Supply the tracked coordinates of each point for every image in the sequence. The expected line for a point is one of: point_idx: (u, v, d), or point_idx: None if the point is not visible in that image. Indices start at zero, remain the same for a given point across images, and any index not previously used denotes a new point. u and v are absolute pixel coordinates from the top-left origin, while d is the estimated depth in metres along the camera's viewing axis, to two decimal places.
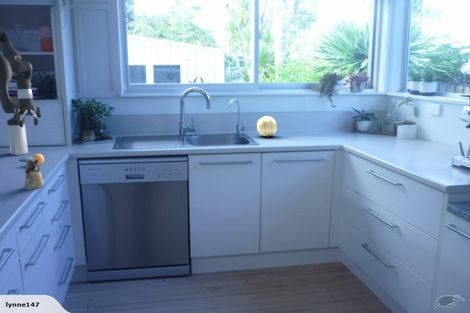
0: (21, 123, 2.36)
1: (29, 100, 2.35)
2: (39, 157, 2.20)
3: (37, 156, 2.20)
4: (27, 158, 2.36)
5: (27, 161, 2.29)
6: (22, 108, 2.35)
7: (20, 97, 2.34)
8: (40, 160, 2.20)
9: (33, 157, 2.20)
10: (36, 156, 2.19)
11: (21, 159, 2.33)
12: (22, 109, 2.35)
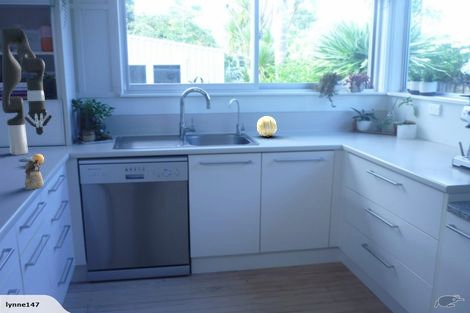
0: None
1: None
2: (39, 157, 2.20)
3: (37, 156, 2.20)
4: (27, 158, 2.36)
5: (27, 161, 2.29)
6: None
7: None
8: (40, 160, 2.20)
9: (33, 157, 2.20)
10: (36, 156, 2.19)
11: (21, 159, 2.33)
12: None
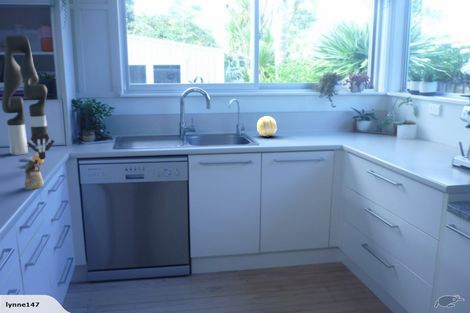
0: None
1: None
2: None
3: (37, 156, 2.20)
4: (27, 158, 2.36)
5: (27, 161, 2.29)
6: None
7: None
8: (40, 160, 2.20)
9: (33, 157, 2.20)
10: (36, 156, 2.19)
11: (21, 159, 2.33)
12: None
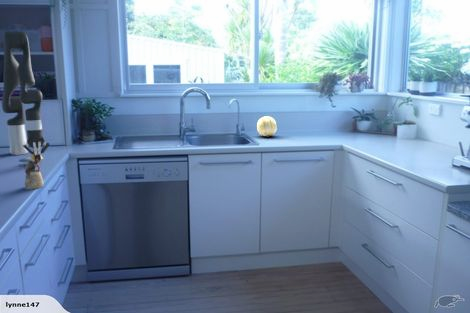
0: None
1: None
2: None
3: None
4: (27, 158, 2.36)
5: (27, 161, 2.29)
6: None
7: None
8: None
9: None
10: None
11: (21, 159, 2.33)
12: None
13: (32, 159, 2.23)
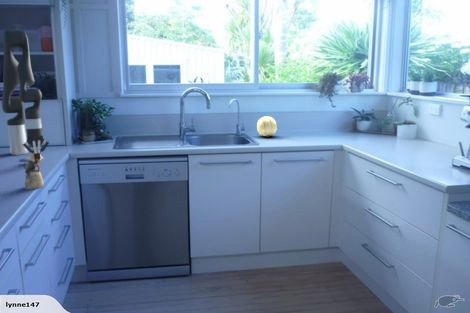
0: None
1: None
2: None
3: None
4: (27, 158, 2.36)
5: (27, 161, 2.29)
6: None
7: None
8: None
9: None
10: None
11: (21, 159, 2.33)
12: None
13: (32, 158, 2.23)
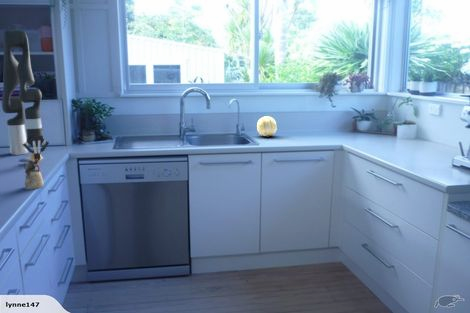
0: None
1: None
2: None
3: None
4: (27, 158, 2.36)
5: (27, 161, 2.29)
6: None
7: None
8: None
9: None
10: None
11: (21, 159, 2.33)
12: None
13: (32, 158, 2.24)
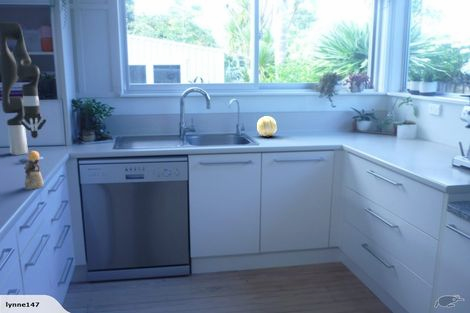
0: None
1: None
2: None
3: None
4: (27, 158, 2.36)
5: (27, 161, 2.29)
6: None
7: None
8: None
9: None
10: None
11: (21, 159, 2.33)
12: None
13: None
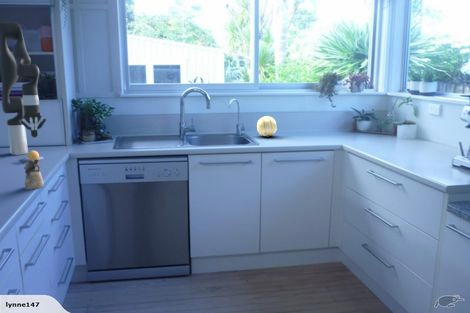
0: None
1: None
2: None
3: None
4: (27, 158, 2.36)
5: (27, 161, 2.29)
6: None
7: None
8: None
9: (29, 158, 2.30)
10: None
11: (21, 159, 2.33)
12: None
13: (28, 153, 2.30)
